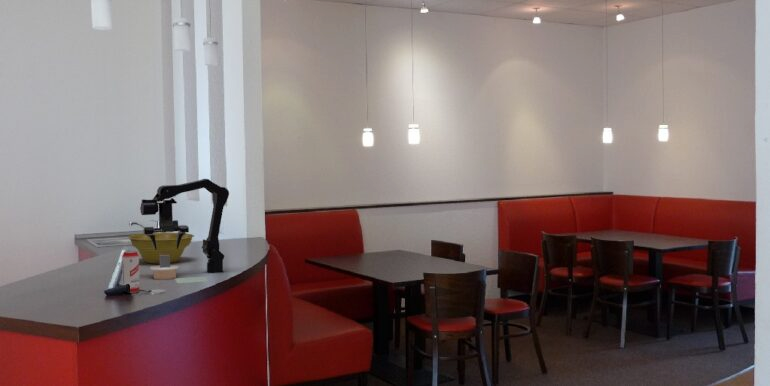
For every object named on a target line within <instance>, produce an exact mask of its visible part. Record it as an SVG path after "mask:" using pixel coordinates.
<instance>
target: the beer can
mask: <svg viewBox="0 0 770 386" xmlns="http://www.w3.org/2000/svg"><path fill="white" fill-rule="evenodd" d="M139 255H140V254H139V252H138V251H137V250H125V251H123V254H122V256H121V278H122V280H121V282H122V283H121V284H122V285H126V284H129V285H130V293H131V294H136V293H138V292H139V291H140V256H139Z"/></svg>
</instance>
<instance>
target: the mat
mask: <svg viewBox="0 0 770 386" xmlns="http://www.w3.org/2000/svg"><path fill="white" fill-rule="evenodd" d="M174 281H175V282H176V284H187V283H188V284H189V283H190V284H191V283H206V282H210V281H209V279H208V278H207V277H206V276H197V277H196V276H195V277H193V276H192V277H181V278H180V277H179V278H178V277H176V278H174Z"/></svg>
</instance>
